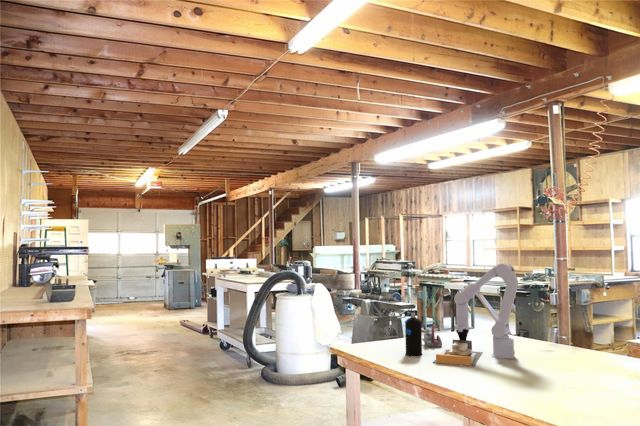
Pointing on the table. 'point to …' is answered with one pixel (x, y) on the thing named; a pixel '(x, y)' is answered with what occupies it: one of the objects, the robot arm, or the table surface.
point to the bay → (458, 358)
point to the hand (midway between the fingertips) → (463, 344)
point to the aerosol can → (413, 336)
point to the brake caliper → (431, 339)
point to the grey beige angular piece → (461, 347)
